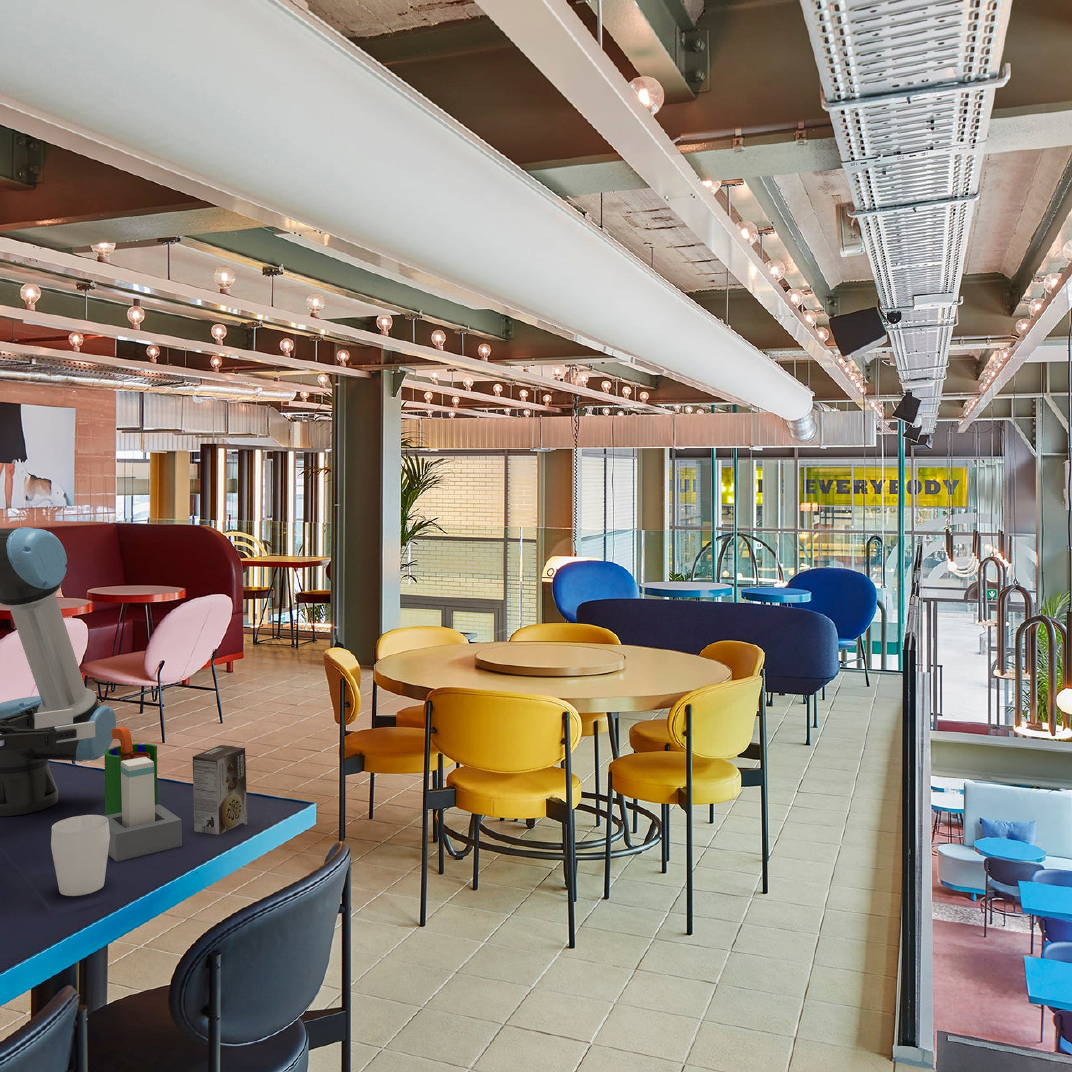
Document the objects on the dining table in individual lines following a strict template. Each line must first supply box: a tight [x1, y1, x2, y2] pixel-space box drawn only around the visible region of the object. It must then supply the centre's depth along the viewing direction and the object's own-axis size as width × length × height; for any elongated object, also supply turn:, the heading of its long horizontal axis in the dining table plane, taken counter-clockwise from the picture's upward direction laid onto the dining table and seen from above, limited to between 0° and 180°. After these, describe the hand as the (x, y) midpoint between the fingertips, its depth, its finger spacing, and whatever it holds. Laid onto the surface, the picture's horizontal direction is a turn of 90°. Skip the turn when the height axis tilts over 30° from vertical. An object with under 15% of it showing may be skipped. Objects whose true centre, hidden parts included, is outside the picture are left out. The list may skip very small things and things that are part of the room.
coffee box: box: [192, 744, 248, 835], centre depth 193 cm, size 9×6×16 cm
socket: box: [104, 803, 183, 862], centre depth 182 cm, size 12×12×6 cm
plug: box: [121, 757, 155, 828], centre depth 182 cm, size 5×5×16 cm
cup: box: [50, 814, 110, 897], centre depth 163 cm, size 9×9×12 cm
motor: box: [104, 726, 158, 816], centre depth 195 cm, size 10×9×20 cm
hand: (83, 722), depth 175 cm, fingers open, 13 cm apart
